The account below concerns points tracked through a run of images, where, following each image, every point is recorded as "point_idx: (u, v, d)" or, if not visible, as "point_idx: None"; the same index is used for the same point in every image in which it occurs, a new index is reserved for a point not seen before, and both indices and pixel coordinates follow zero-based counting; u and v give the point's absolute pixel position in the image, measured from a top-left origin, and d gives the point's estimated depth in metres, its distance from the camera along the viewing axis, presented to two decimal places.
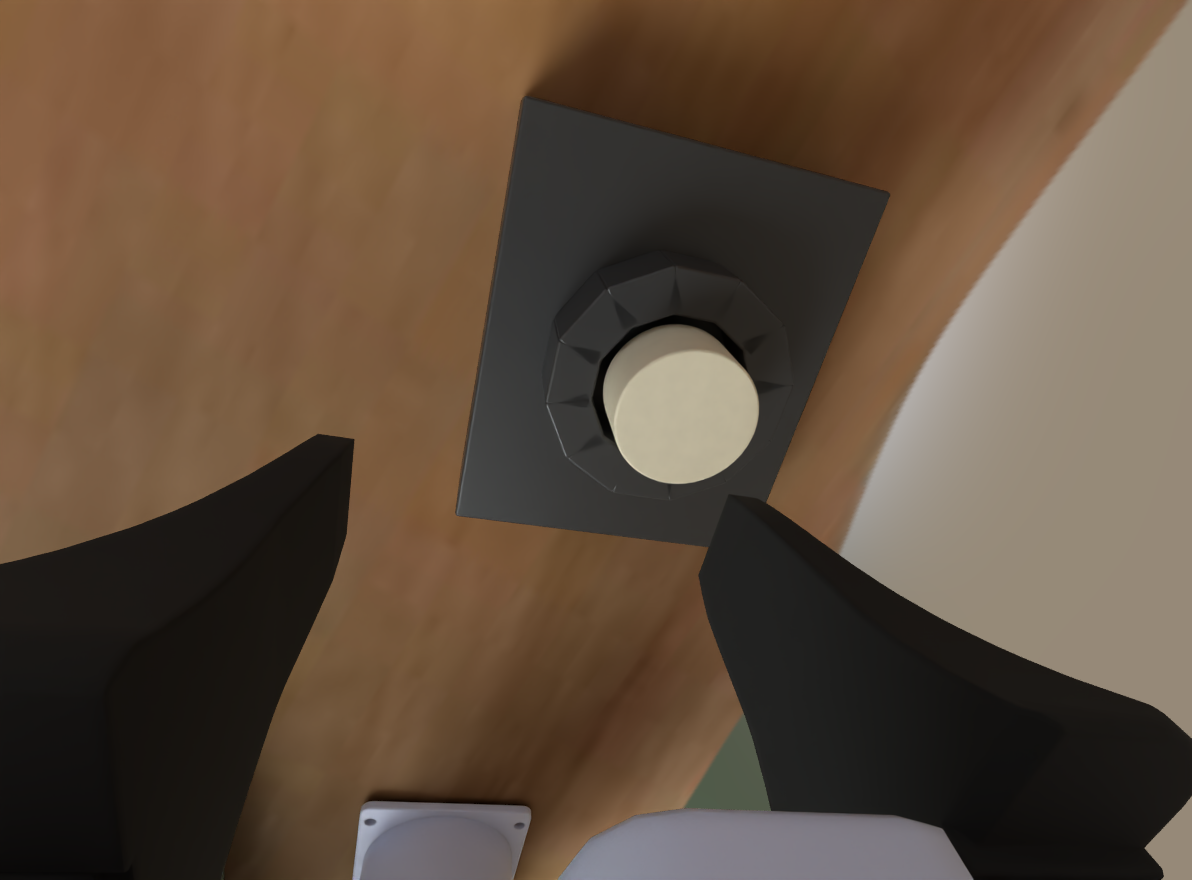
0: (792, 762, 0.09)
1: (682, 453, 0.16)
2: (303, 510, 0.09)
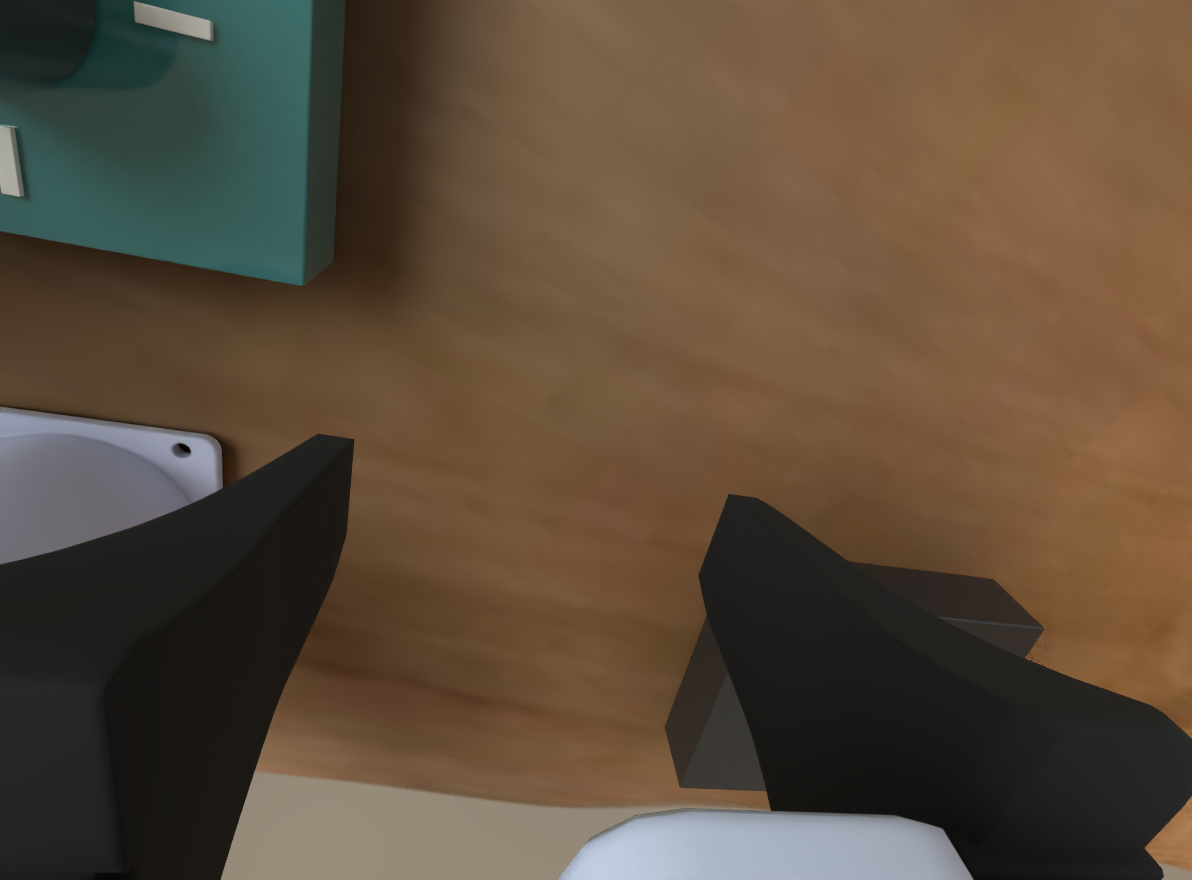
0: (792, 762, 0.09)
1: None
2: (303, 510, 0.09)
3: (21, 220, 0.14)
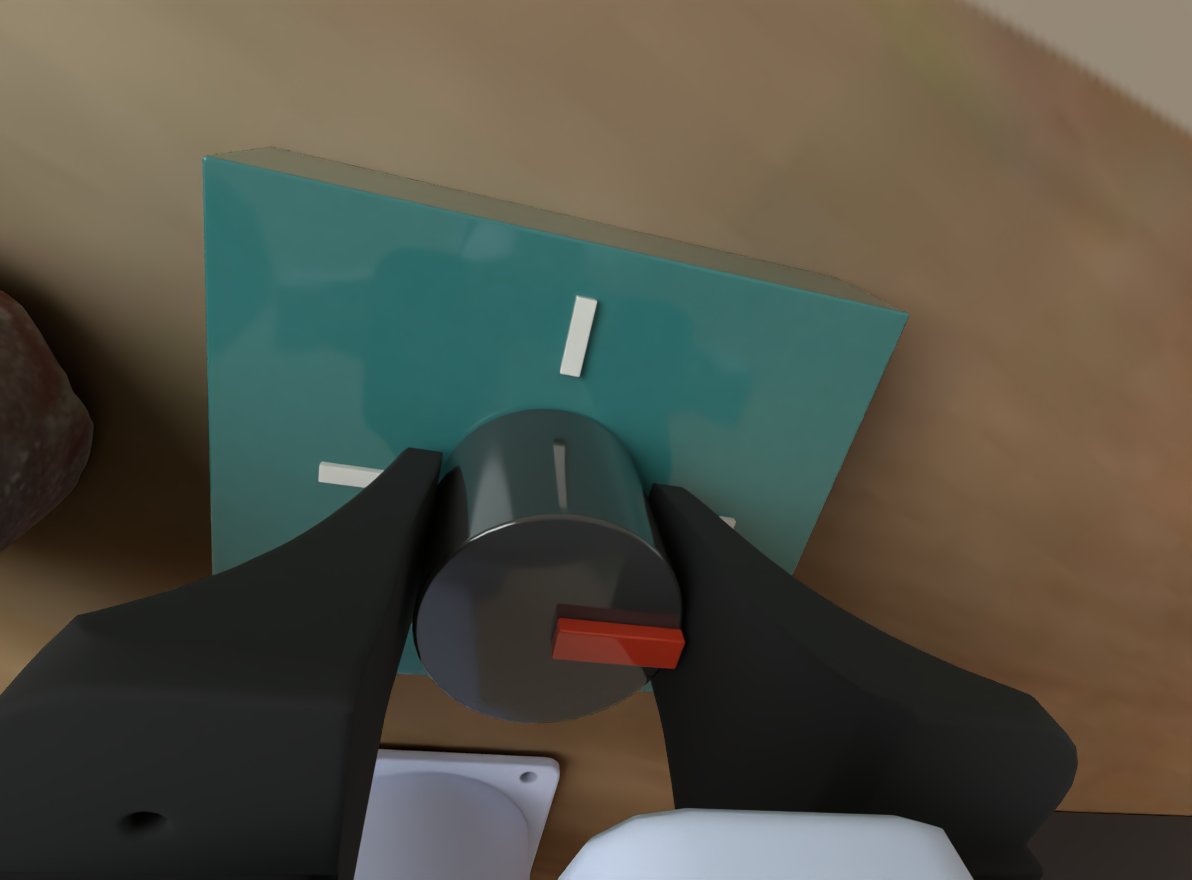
0: (693, 757, 0.09)
1: None
2: (417, 524, 0.09)
3: None
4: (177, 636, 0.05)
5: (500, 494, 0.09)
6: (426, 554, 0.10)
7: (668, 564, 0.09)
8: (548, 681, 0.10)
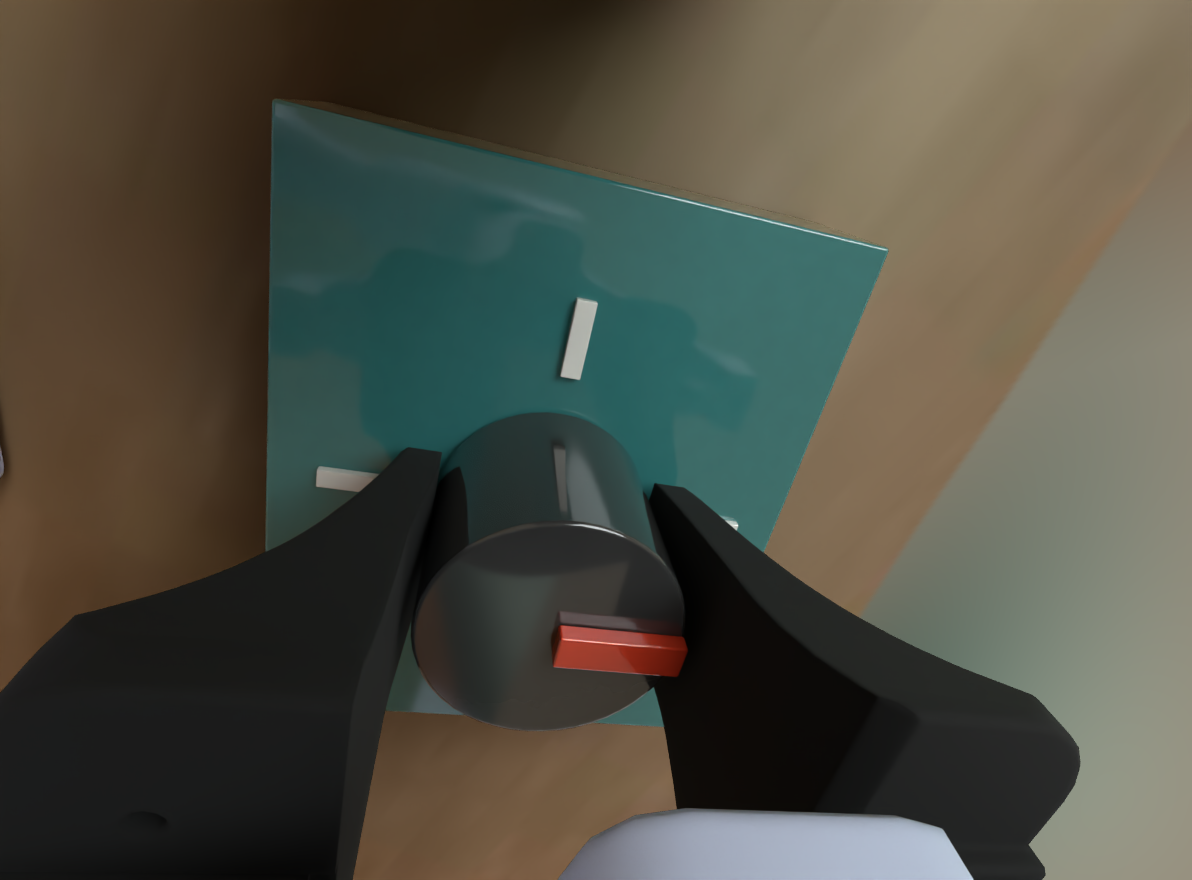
0: (695, 757, 0.09)
1: None
2: (416, 524, 0.09)
3: (286, 471, 0.12)
4: (175, 638, 0.05)
5: (500, 500, 0.09)
6: (425, 560, 0.10)
7: (671, 571, 0.09)
8: (549, 689, 0.10)
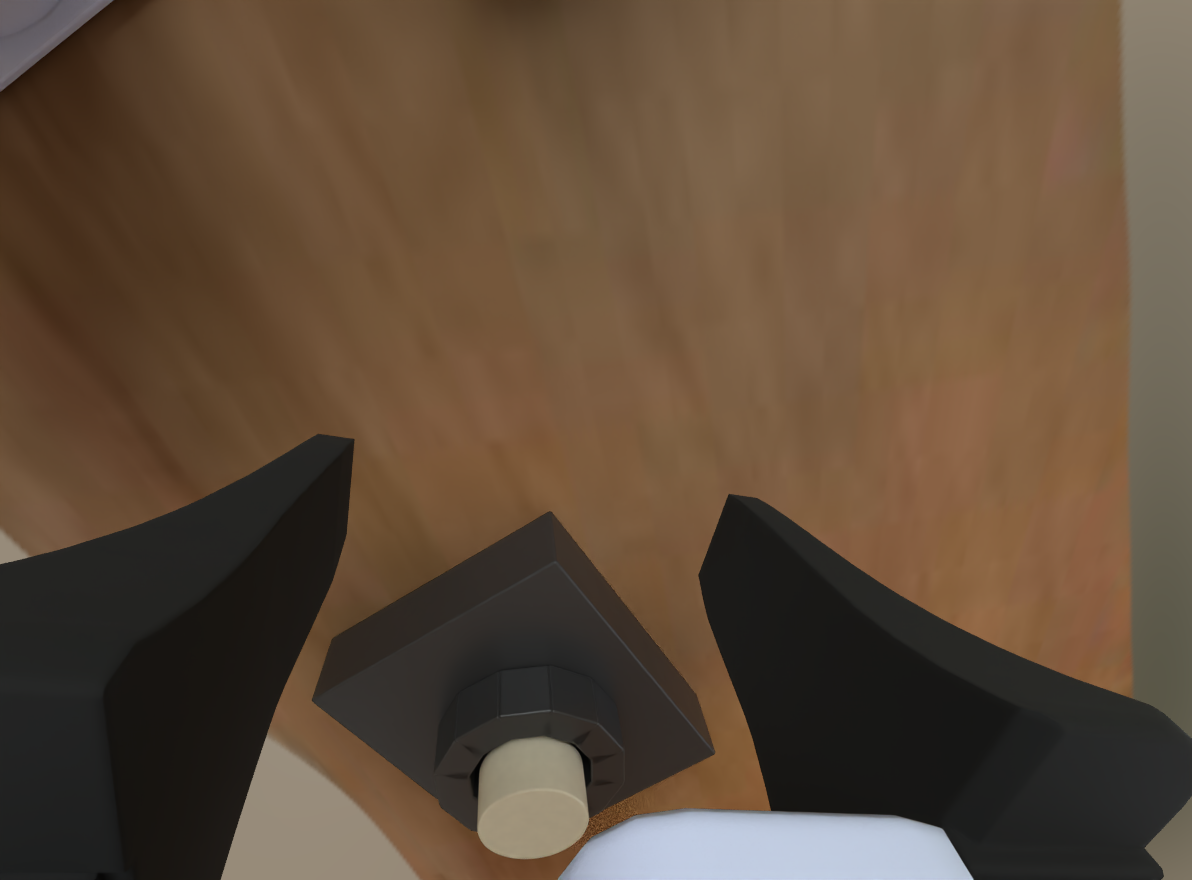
0: (792, 762, 0.09)
1: (514, 815, 0.20)
2: (303, 510, 0.09)
3: None
4: None
5: None
6: None
7: None
8: None
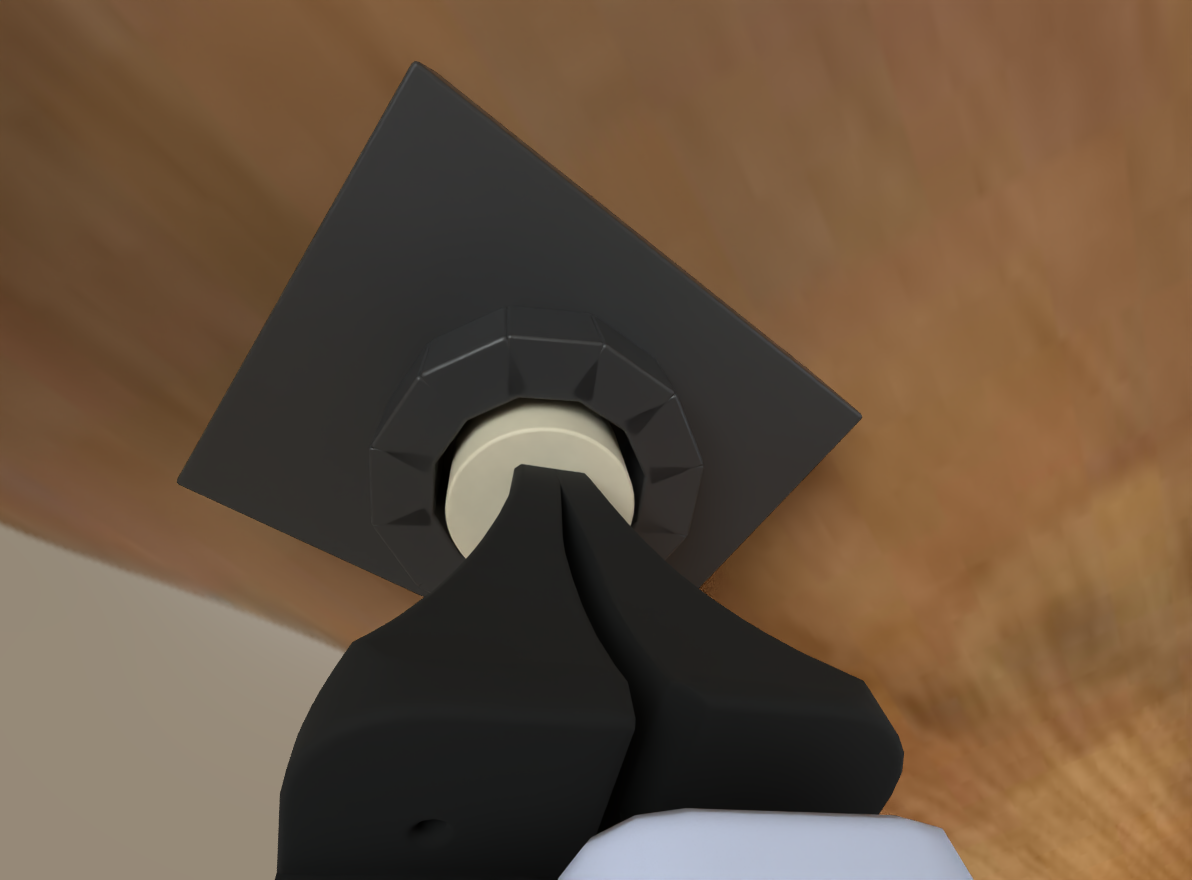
0: None
1: (498, 497, 0.12)
2: None
3: None
4: (457, 659, 0.05)
5: None
6: None
7: None
8: None
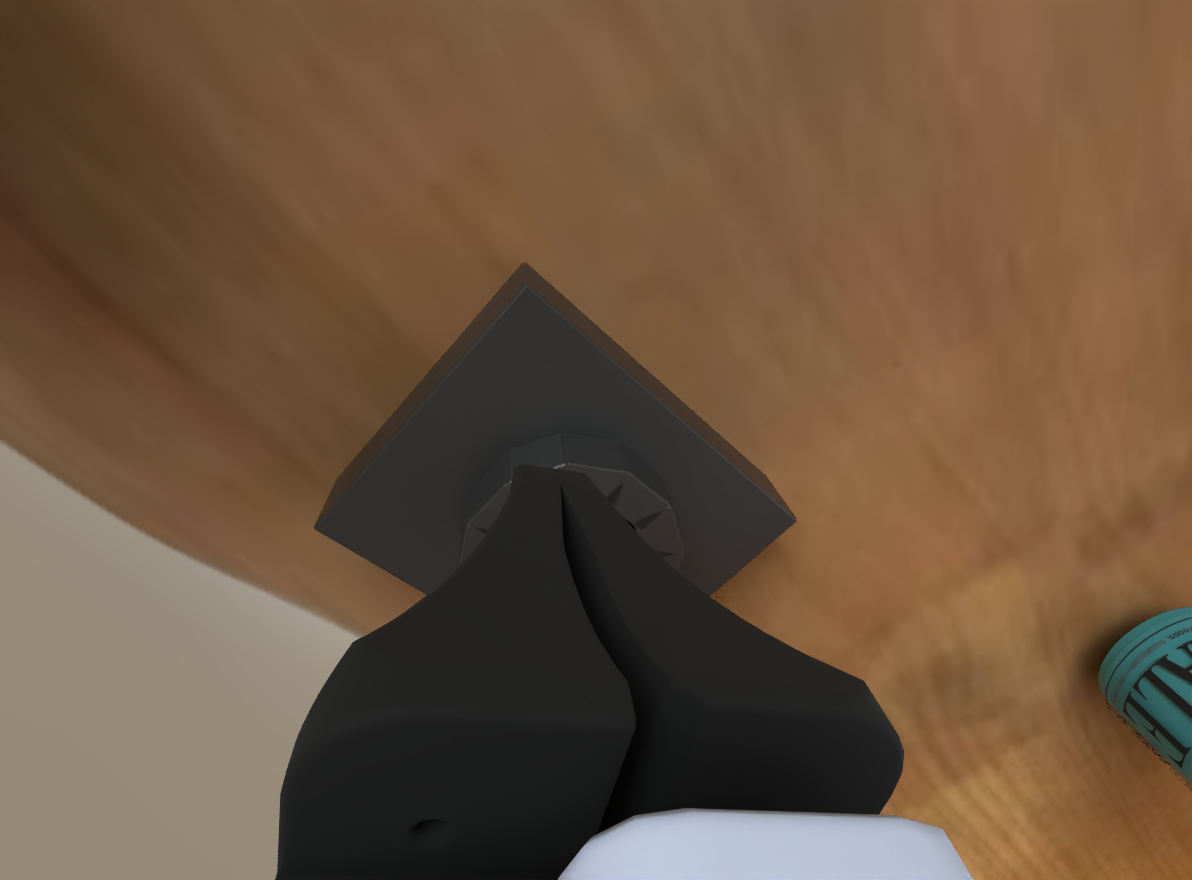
0: None
1: None
2: None
3: None
4: (459, 661, 0.05)
5: None
6: None
7: None
8: None
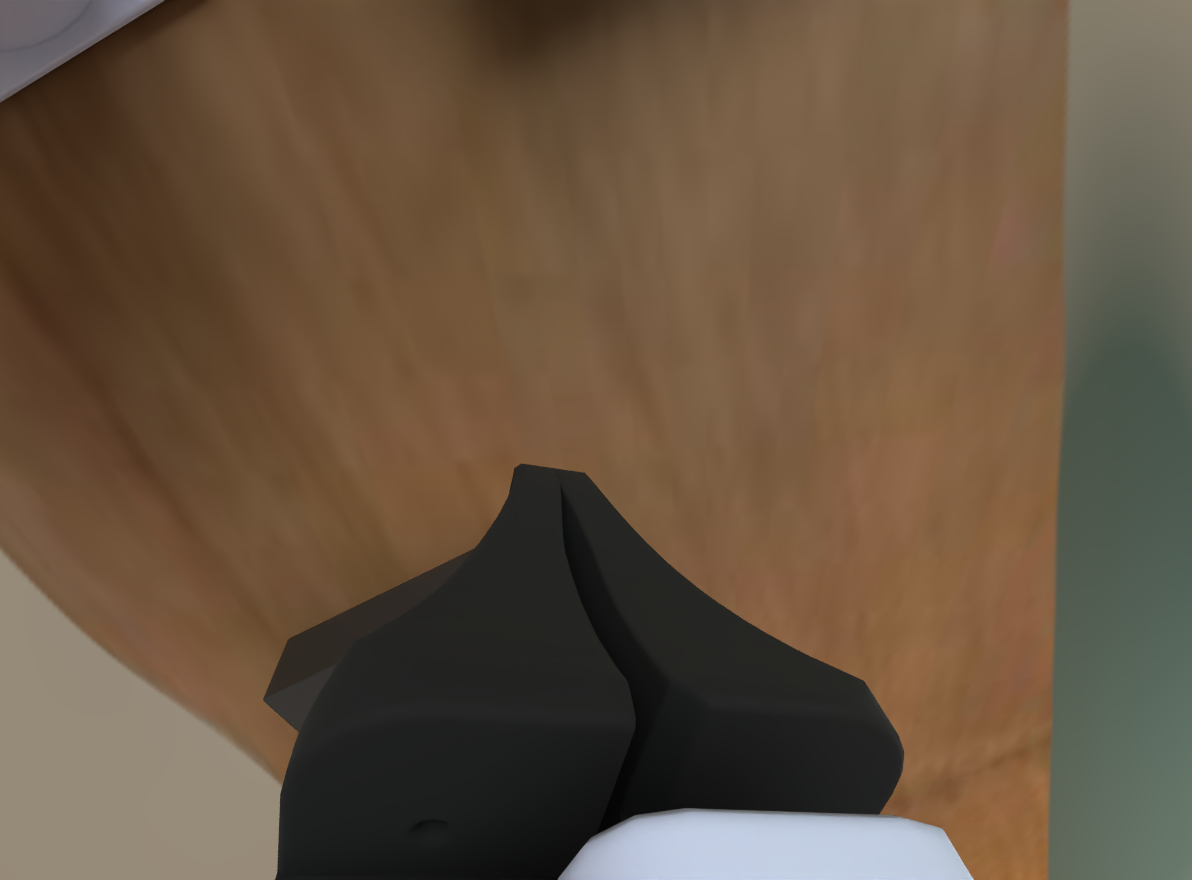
0: None
1: None
2: None
3: None
4: (459, 661, 0.05)
5: None
6: None
7: None
8: None
